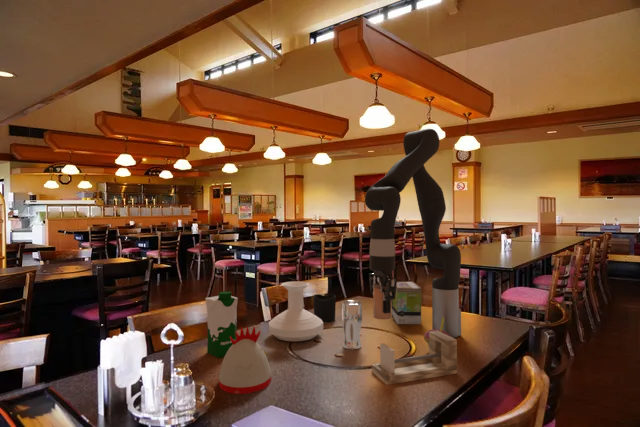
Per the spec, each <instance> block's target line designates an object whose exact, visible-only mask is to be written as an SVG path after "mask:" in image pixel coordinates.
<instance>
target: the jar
mask: <svg viewBox="0 0 640 427" xmlns="http://www.w3.org/2000/svg"><path fill="white" fill-rule="evenodd" d="M383 289H387V286H383ZM385 295H386V292H385ZM372 296H373V306H372V307H373V308H372V309H373V310H372V311H373V314H372V316H373V317H372V318H374V319H377V320H390V319H391V318H392V314H391V312H390V313H386V314H385V313H383V297H382V293H381V292H380V286H379V284H373V293H372Z"/></svg>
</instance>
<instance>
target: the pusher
mask: <svg viewBox="0 0 640 427" xmlns="http://www.w3.org/2000/svg"><path fill="white" fill-rule="evenodd" d="M379 346H380V347H379V348H380V351H379V353H380V354H379V355H380V357H379V358H380V362H379V363H380V368H381V369H382V370H383V371H384V372H386V373H387V374H393V373H395V363H401V362H408V361H414V360H421V359H428V358H435V357H441V353H437V354H430V355H429V354H424V355H417V356H410V357H404V358H395V355H396V354H395V349H393V348H392V347H390V346H389V345H387V344H386V343H384V342H383V343H380V345H379Z"/></svg>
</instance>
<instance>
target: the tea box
mask: <svg viewBox="0 0 640 427" xmlns="http://www.w3.org/2000/svg"><path fill="white" fill-rule="evenodd" d="M391 317H393V319H394V321H395V323H396V325H421V324H422V288H421V286H419V284H417V283H415V282H414V281H397V286H396V295H395V299H392V300H391Z"/></svg>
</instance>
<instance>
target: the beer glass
mask: <svg viewBox="0 0 640 427" xmlns="http://www.w3.org/2000/svg"><path fill="white" fill-rule="evenodd" d="M362 305H363V304H362V301H360V300H356V299H347V300H343V301H342V302H341V322H342V329H343V343H342V347H343V348H344V349H347V350H358V349H361V348H362V343H361V329H362V322H363V306H362Z"/></svg>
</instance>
